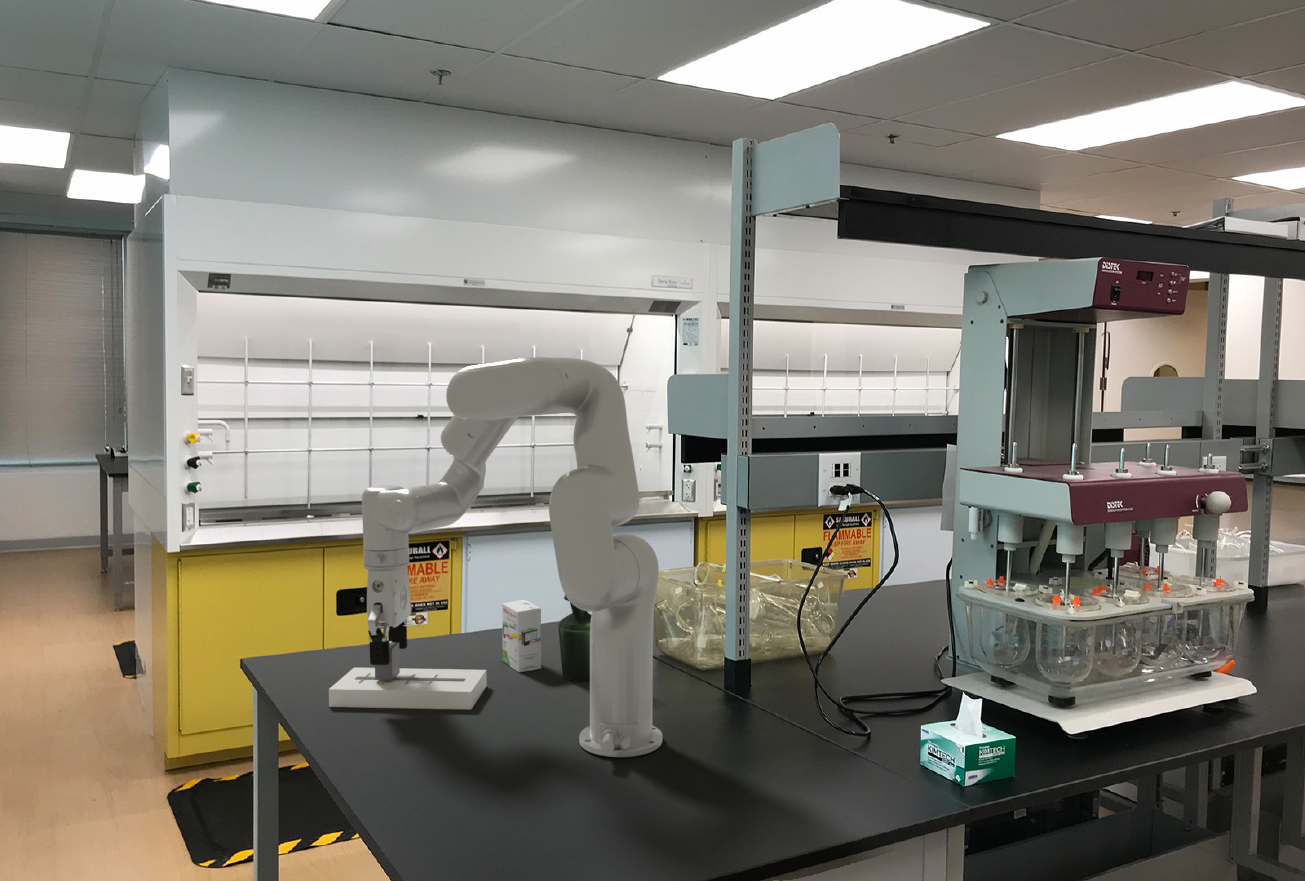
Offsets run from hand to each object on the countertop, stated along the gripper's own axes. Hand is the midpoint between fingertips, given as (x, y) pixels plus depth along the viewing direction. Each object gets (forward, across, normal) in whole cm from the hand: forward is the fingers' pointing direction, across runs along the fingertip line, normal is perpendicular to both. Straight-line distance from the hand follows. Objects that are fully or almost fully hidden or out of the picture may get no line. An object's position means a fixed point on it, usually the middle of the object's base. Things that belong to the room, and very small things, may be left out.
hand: (389, 656), depth 165 cm
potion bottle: (+8, +13, -31) cm, 35 cm away
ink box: (+7, +19, -19) cm, 28 cm away
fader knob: (+4, 0, +1) cm, 4 cm away
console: (+7, 0, -3) cm, 8 cm away
